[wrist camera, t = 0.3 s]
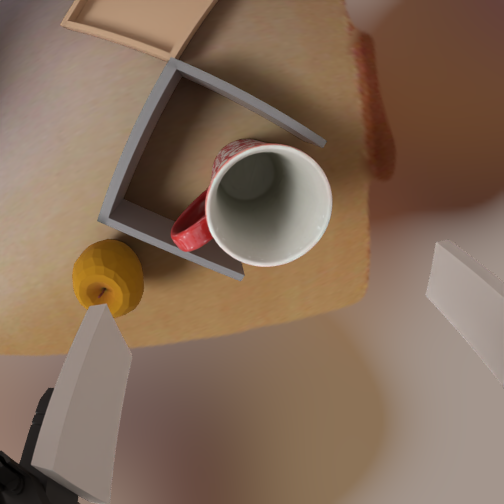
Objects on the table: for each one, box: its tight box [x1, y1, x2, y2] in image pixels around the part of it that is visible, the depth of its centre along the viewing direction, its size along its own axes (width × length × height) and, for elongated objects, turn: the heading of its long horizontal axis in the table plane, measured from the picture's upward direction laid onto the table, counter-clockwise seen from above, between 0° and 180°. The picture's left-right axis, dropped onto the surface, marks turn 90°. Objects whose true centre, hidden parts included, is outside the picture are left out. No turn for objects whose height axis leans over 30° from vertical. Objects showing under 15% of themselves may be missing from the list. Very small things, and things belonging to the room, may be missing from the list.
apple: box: [72, 239, 144, 318], centre depth 30 cm, size 9×8×9 cm
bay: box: [97, 57, 327, 281], centre depth 28 cm, size 16×17×6 cm
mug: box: [171, 139, 332, 267], centre depth 26 cm, size 13×9×14 cm
